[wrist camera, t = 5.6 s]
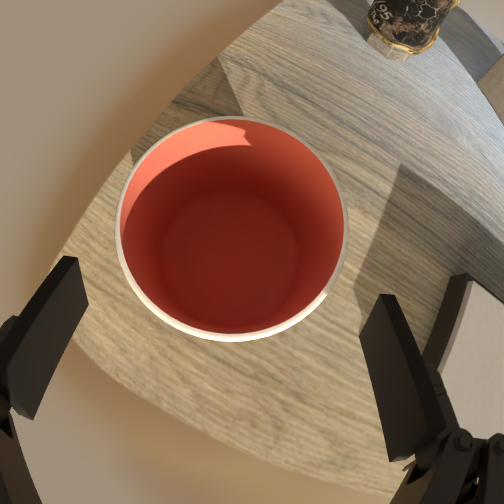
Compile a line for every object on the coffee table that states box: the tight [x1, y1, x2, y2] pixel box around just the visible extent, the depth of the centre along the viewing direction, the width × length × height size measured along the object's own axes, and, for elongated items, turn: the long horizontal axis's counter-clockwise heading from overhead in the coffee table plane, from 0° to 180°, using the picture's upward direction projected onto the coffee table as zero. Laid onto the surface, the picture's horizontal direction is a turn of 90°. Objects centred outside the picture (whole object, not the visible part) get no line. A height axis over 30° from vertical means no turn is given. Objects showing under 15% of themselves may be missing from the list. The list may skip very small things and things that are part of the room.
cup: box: [115, 116, 349, 341], centre depth 17 cm, size 10×10×10 cm
